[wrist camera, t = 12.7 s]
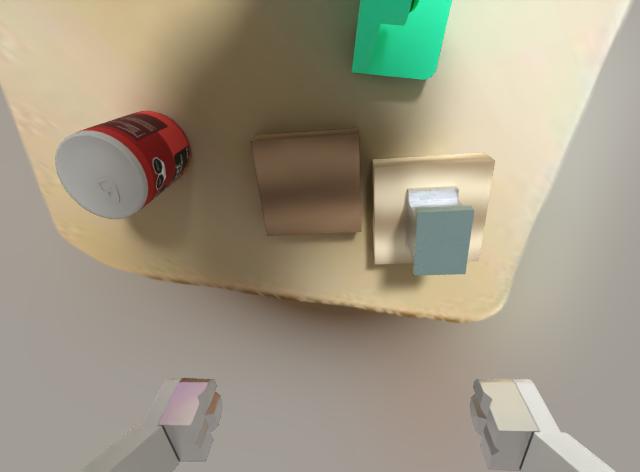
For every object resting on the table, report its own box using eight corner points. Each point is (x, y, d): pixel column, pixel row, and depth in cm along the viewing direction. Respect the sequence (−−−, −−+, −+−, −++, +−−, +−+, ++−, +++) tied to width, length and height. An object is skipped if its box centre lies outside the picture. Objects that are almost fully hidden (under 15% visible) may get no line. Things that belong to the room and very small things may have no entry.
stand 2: (372, 159, 39) (374, 167, 36) (484, 152, 38) (495, 160, 35) (373, 251, 44) (374, 264, 42) (470, 248, 43) (478, 261, 41)
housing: (405, 245, 40) (413, 275, 35) (407, 188, 37) (417, 212, 32) (449, 243, 40) (465, 273, 35) (456, 185, 36) (474, 209, 31)
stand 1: (257, 134, 38) (250, 141, 36) (357, 128, 37) (358, 134, 35) (272, 224, 44) (267, 235, 41) (360, 220, 42) (361, 231, 40)
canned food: (161, 190, 42) (107, 233, 33) (110, 134, 39) (34, 163, 30) (207, 157, 40) (163, 194, 30) (157, 94, 37) (90, 113, 27)
